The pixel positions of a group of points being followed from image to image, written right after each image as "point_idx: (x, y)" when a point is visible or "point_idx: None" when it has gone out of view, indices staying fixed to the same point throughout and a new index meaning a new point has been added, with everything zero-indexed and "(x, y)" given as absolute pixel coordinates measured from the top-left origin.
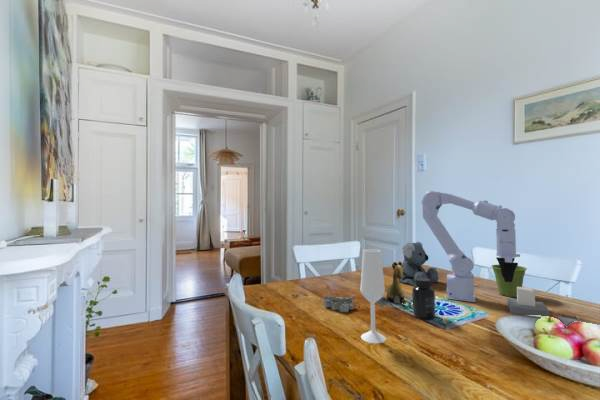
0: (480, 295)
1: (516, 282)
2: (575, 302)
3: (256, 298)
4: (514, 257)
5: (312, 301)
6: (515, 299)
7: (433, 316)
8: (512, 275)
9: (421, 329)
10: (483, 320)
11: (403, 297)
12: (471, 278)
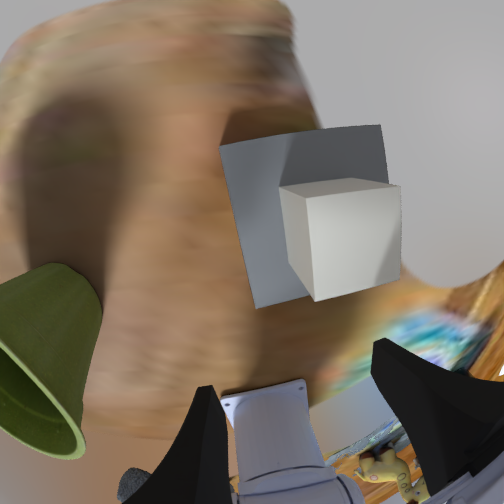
0: (175, 386)
1: (56, 313)
2: (18, 75)
3: (415, 479)
4: (496, 487)
5: (413, 467)
6: (261, 272)
7: (465, 369)
8: (424, 363)
9: (494, 350)
10: (454, 303)
11: (392, 449)
12: (308, 462)
